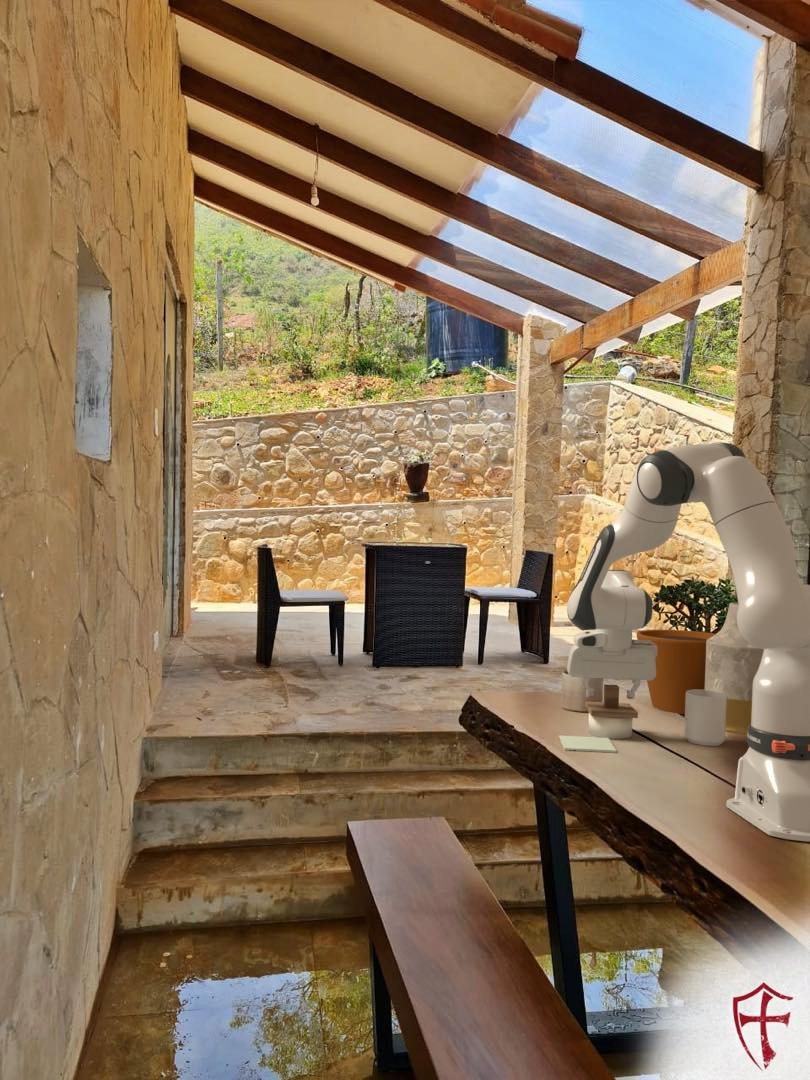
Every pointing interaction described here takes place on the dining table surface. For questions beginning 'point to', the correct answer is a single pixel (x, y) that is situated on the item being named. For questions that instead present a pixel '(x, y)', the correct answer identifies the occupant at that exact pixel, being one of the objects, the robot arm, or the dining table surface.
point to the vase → (733, 671)
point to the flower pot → (676, 666)
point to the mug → (705, 717)
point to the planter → (579, 692)
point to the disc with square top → (610, 727)
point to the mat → (587, 744)
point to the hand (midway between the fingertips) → (610, 697)
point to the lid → (611, 705)
